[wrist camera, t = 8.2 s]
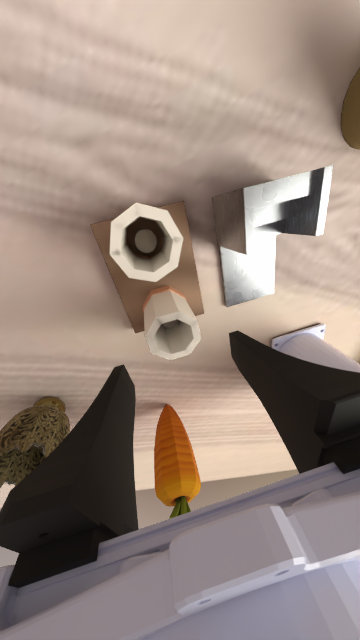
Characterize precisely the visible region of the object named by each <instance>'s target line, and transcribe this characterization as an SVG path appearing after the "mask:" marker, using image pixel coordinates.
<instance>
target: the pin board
mask: <svg viewBox="0 0 360 640" xmlns="http://www.w3.org/2000/svg"><path fill="white" fill-rule="evenodd" d="M158 208H160V209H163V210H167V211H168V212H169V214H170V216H171V218H172V219H173V221H174V223H175V225H176V226H177V228H178V230H179V231H180V233H181V235H182V237H183V243H182V248H181V253H180V258H179V263H178V267H177V268H175V269H174V270H172V271H171V272H170V273H168V274H167V275H165V276H164V277H163V278H161V279H160V280H158V281H157V282H152V281H146V280H139V279H133V278H129V277H128V276H127V275H126V274H125V272H124V271H123V270H122V269H121V268H120V266H119V265H118V264H117V263H116V262H115V260H114V259H113V258H112V257H111V255H110V234H111V222H112V221H113V220H114V219H111V220H107V221H103V222H99V223H95V224H91V225H90V226H91V228H92V230H93V233H94V235H95V238H96V240H97V242H98V245H99V247H100V250H101V252H102V254H103V257H104V259H105V262H106V264H107V267H108V269H109V271H110V274H111V276H112V279H113V281H114V283H115V286H116V288H117V291H118V293H119V295H120V298H121V300H122V303H123V305H124V307H125V310H126V312H127V315H128V317H129V319H130V322H131V324H132V327H133V329H134V331H135V333H138V332H142V331H145V329H144V312H143V304H144V302H145V300H146V298H147V297H148V295H149V293H150V291H151V290H154V289H157V288H161V287H164V286H171V287H172V288H174V289H176V290H178V291H180V292H182V293H183V294H184V295H185V297H186V301H187V303H188V305H189V306H190V308H191V310H192V312H193V313H194V315H195V316H197V315H200V314H204V310H203V304H202V299H201V293H200V288H199V282H198V277H197V271H196V265H195V260H194V254H193V249H192V243H191V238H190V232H189V227H188V221H187V216H186V210H185V204H184V201H181V202H177V203H173V204H169V205H165V206H162V207H158ZM115 219H116V218H115ZM162 238H163V233H162V232H161V230H160V229H159V227H158V226H157V224H156V222H155V221H152V220H148V219H144V218H139V219H137V220H136V221H135V222H133V223H132V224H131V225H130V226H128V235H127V243H128V244H129V246H130V247H131V248H132V250H133V251H134V252H135V254H137V255H142V256H148V257H150V256H152V255H153V254H154V253H156V252H157V251H159V250H160V249H161V244H162ZM177 322H178V319H176V320H173V321H169V322H166V323H163V324H162V326H163V327H165V328H172V327H174V326H175V325H176V324H177Z"/></svg>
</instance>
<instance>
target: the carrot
mask: <svg viewBox="0 0 360 640" xmlns="http://www.w3.org/2000/svg"><path fill="white" fill-rule="evenodd" d="M154 470H155V490H156V495H157V497H158V498H159V499H160V500H161V501H162V502H163V503H164V504H165V505H166V506H175V507H174V509H173V512H172V514H171V516H170V518H169V519H171V518H174V517H176V516H179V515H182V514H185V513H188V512H191V511H190V508H189V506H188V502H190V501H191V500H192V499H193V498H194V497H195V496H196V495H197V494H198V492H199V491H200V488H201V482H200V477H199V473H198V469H197V465H196V461H195V457H194V454H193V450H192V446H191V443H190V441H189V438H188V435H187V433H186V431H185V428H184V426H183V424H182V422H181V420H180V418H179V416H178V415H177V413H176V412H175V410H174V409H173V408H172V407H171V406H170V405H166V406H165V407H164V408H163V411H162V413H161V415H160V418H159V421H158V425H157V430H156V438H155V448H154Z"/></svg>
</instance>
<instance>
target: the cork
mask: <svg viewBox="0 0 360 640" xmlns="http://www.w3.org/2000/svg"><path fill="white" fill-rule="evenodd" d="M341 126H342V133H343V136H344V138H345V141H346V142H347V143H348V144H349V145H350V146H351V147H353V148H356V149H360V68H359V70H358V71H357V73H356V75H355V76H354V78H353V80H352V82H351V83H350V85H349V88H348V91H347V94H346V96H345V99H344V103H343V109H342V114H341Z"/></svg>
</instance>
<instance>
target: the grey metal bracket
mask: <svg viewBox="0 0 360 640" xmlns="http://www.w3.org/2000/svg"><path fill="white" fill-rule="evenodd" d="M332 171H333V165H331V166H327V167H324V168H320V169H317V170H313V171H309V172H305V173H301V174H297V175H293V176H289V177H286V178H282V179H278V180H274V181H270V182H266V183H262V184H258V185H254V186H250V187H246V188H242V189H239V190H236V191H233V192H230V193H226V194H223V195H220V196H217V197H214V198H212V199H213V208H214V217H215V225H216V234H217V243H218V246H219V252H220V261H221V270H222V279H223V288H224V297H225V305H226V307H229V306H232V305H236V304H239V303H243V302H246V301H249V300H253V299H256V298H260V297H263V296H267V295H270V294H274V276H275V244H276V234H279V233H288V234H300V235H311V236H317V235H321V234H323V232H324V225H325V218H326V212H327V205H328V198H329V191H330V185H331V178H332Z"/></svg>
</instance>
